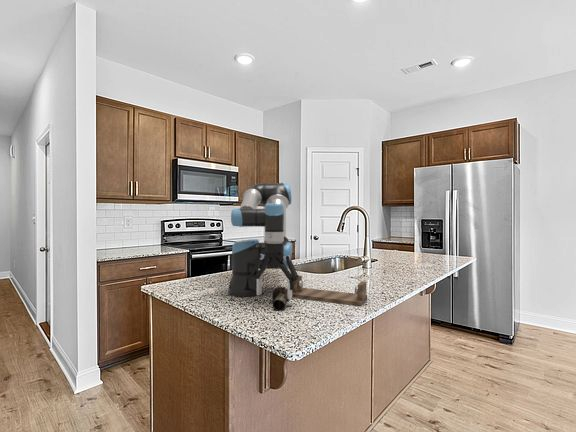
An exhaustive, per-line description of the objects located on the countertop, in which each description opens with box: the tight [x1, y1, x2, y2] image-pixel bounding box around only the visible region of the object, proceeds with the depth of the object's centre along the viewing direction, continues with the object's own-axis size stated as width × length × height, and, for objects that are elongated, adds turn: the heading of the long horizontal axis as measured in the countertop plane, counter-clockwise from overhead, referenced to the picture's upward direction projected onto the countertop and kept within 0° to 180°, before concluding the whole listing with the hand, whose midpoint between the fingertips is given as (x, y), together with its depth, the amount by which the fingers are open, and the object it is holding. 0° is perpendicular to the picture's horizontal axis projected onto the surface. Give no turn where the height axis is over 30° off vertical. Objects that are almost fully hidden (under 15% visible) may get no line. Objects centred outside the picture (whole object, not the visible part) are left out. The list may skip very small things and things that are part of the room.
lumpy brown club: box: [271, 286, 289, 312], centre depth 127 cm, size 18×7×6 cm, turn 173°
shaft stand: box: [291, 274, 368, 307], centre depth 135 cm, size 30×12×8 cm, turn 65°
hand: (274, 296), depth 128 cm, fingers open, 13 cm apart
